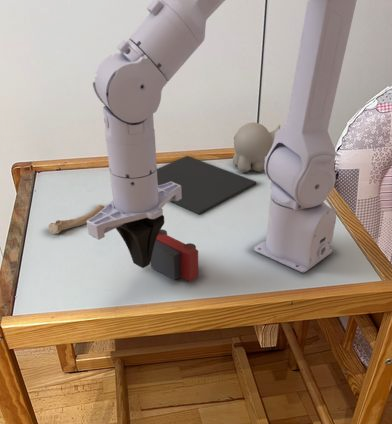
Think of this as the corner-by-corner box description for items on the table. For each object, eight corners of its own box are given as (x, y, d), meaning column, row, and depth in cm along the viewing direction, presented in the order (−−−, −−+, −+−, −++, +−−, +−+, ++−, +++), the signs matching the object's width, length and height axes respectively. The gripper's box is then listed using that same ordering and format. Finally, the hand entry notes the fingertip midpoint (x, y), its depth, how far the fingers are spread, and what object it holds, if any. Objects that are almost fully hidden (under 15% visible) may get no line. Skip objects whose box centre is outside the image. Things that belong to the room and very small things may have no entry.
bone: (111, 212, 91) (109, 201, 89) (58, 238, 85) (55, 226, 83) (101, 208, 92) (99, 197, 91) (48, 233, 86) (46, 221, 84)
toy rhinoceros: (296, 172, 102) (302, 127, 96) (236, 176, 101) (239, 131, 95) (286, 157, 107) (291, 114, 102) (229, 161, 106) (231, 118, 100)
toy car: (202, 274, 76) (202, 247, 73) (183, 286, 74) (182, 259, 71) (159, 252, 81) (157, 226, 78) (140, 262, 79) (137, 236, 76)
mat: (256, 184, 98) (256, 181, 98) (199, 214, 90) (199, 212, 89) (187, 158, 107) (187, 155, 107) (129, 183, 99) (129, 181, 98)
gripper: (108, 199, 57) (121, 298, 66) (198, 159, 65) (198, 253, 74) (69, 180, 61) (86, 277, 70) (158, 144, 68) (163, 235, 78)
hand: (141, 263), depth 72 cm, fingers closed
